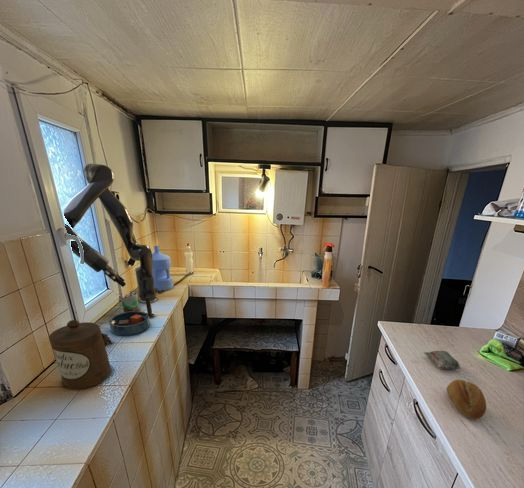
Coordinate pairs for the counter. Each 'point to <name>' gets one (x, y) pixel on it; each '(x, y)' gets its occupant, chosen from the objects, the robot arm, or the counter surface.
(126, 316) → the bowl
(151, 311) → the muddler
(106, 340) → the pottery mug
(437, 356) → the packaged food
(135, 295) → the food container
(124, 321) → the block
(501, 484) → the counter surface
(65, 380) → the wooden container
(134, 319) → the block
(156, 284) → the water jug
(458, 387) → the bread roll
